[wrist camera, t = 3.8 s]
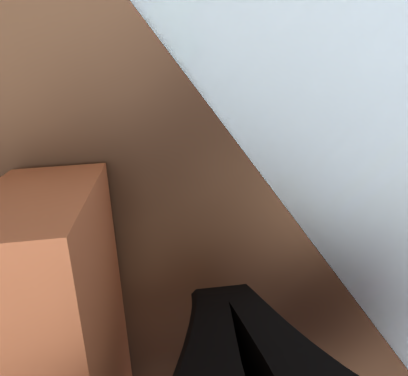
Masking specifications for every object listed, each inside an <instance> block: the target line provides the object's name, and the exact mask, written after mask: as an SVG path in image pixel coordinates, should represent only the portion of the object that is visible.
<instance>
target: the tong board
mask: <svg viewBox="0 0 408 376" xmlns="http://www.w3.org/2000/svg"><path fill="white" fill-rule="evenodd" d="M95 163H106V169H107V177H108V185H109V193H110V201H111V209H112V217H113V225H114V233H115V241H116V249H117V257H118V265H119V273H120V281H121V289H122V297H123V305H124V313H125V321H126V329H127V337H128V345H129V353H130V361H131V369H132V376H173V373H174V370H175V368H176V365H177V362H178V359H179V357H180V354H181V351H182V348H183V344H184V341H185V337H186V333H187V329H188V326H189V321H190V316H191V309H192V297H191V294H192V293H193V292H194V291H195V290H196V289H203V288H212V287H222V286H231V285H241V284H247V285H248V286H249V287H250V288H251V289H252V290H254V291H255V292H256V293H257V294H258V295H259V296H260V297H261V298H262V299H263V300H264V301H265V302H266V303H267V304H269V305H270V306H271V307H272V308H273V309H274V310H275V311H276V312H277V313H278V314H279V315H281V316H282V317H283V318H284V319H285V320H286V321H287V322H289V323H290V324H291V325H292V326H293V327H295V328H296V329H297V330H298V331H299V332H300V333H302V334H303V335H304V336H305V337H306V338H308V339H309V340H310V341H311V342H313V343H314V344H315V345H317V346H318V347H319V348H321V349H322V350H323V351H325V352H326V353H327V354H329V355H330V356H331V357H333V358H334V359H336V360H337V361H338V362H340V363H341V364H343V365H344V366H346V367H347V368H348V369H350V370H351V371H353V372H354V373H356V374H358V375H359V376H408V370H407V368H406V367H405V366H404V364H403V363H402V362H401V360H400V359H399V358H398V356H397V355H396V354H395V352H394V351H393V350H392V348H391V347H390V346H389V344H388V343H387V342H386V340H385V339H384V338H383V336H382V335H381V334H380V332H379V331H378V330H377V328H376V327H375V326H374V324H373V323H372V322H371V320H370V319H369V318H368V316H367V315H366V314H365V312H364V311H363V310H362V308H361V307H360V306H359V304H358V303H357V302H356V300H355V299H354V298H353V296H352V295H351V294H350V292H349V291H348V290H347V288H346V287H345V286H344V284H343V283H342V282H341V280H340V279H339V278H338V276H337V275H336V274H335V272H334V271H333V270H332V269H331V267H330V266H329V265H328V263H327V262H326V261H325V259H324V258H323V257H322V255H321V254H320V253H319V251H318V250H317V249H316V247H315V246H314V245H313V243H312V242H311V241H310V239H309V238H308V237H307V235H306V234H305V233H304V231H303V230H302V229H301V227H300V226H299V225H298V223H297V222H296V221H295V219H294V218H293V217H292V215H291V214H290V213H289V211H288V210H287V209H286V207H285V206H284V205H283V203H282V202H281V201H280V199H279V198H278V197H277V195H276V194H275V193H274V191H273V190H272V189H271V187H270V186H269V185H268V183H267V182H266V181H265V179H264V178H263V177H262V175H261V174H260V173H259V171H258V170H257V169H256V168H255V166H254V165H253V164H252V162H251V161H250V160H249V158H248V157H247V156H246V154H245V153H244V152H243V150H242V149H241V148H240V146H239V145H238V144H237V142H236V141H235V140H234V138H233V137H232V136H231V134H230V133H229V132H228V130H227V129H226V128H225V126H224V125H223V124H222V122H221V121H220V120H219V118H218V117H217V116H216V114H215V113H214V112H213V110H212V109H211V108H210V106H209V105H208V104H207V102H206V101H205V100H204V98H203V97H202V96H201V94H200V93H199V92H198V90H197V89H196V88H195V86H194V85H193V84H192V82H191V81H190V80H189V78H188V77H187V76H186V74H185V73H184V72H183V70H182V69H181V68H180V66H179V65H178V64H177V63H176V61H175V60H174V59H173V57H172V56H171V55H170V53H169V52H168V51H167V49H166V48H165V47H164V45H163V44H162V43H161V41H160V40H159V39H158V37H157V36H156V35H155V33H154V32H153V31H152V29H151V28H150V27H149V25H148V24H147V23H146V21H145V20H144V19H143V17H142V16H141V15H140V13H139V12H138V11H137V9H136V8H135V7H134V5H133V4H132V3H131V1H130V0H0V177H1V176H3V175H4V174H6V173H7V172H8V171H10V170H11V169H25V168H39V167H53V166H67V165H81V164H95Z"/></svg>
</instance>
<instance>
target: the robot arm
mask: <svg viewBox="0 0 408 376" xmlns="http://www.w3.org/2000/svg"><path fill="white" fill-rule="evenodd" d="M191 297H192V309H191V316H190V321H189V326H188V329H187V333H186V337H185V341H184V344H183V348H182V351H181V354H180V357H179V359H178V362H177V365H176V368H175V370H174V373H173V376H359V375H358V374H356V373H354V372H353V371H351V370H350V369H348V368H347V367H346V366H344V365H343V364H341V363H340V362H338V361H337V360H336V359H334V358H333V357H331V356H330V355H329V354H327V353H326V352H325V351H323V350H322V349H321V348H319V347H318V346H317V345H315V344H314V343H313V342H311V341H310V340H309V339H308V338H306V337H305V336H304V335H303V334H302V333H300V332H299V331H298V330H297V329H296V328H295V327H293V326H292V325H291V324H290V323H289V322H287V321H286V320H285V319H284V318H283V317H282V316H281V315H279V314H278V313H277V312H276V311H275V310H274V309H273V308H272V307H271V306H270V305H269V304H267V303H266V302H265V301H264V300H263V299H262V298H261V297H260V296H259V295H258V294H257V293H256V292H255V291H254V290H252V289H251V288H250V287H249V286H248V285H247V284H241V285H231V286H222V287H212V288H203V289H196V290H195V291H194V292H193V293H192V294H191Z"/></svg>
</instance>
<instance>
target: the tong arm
mask: <svg viewBox="0 0 408 376" xmlns="http://www.w3.org/2000/svg"><path fill="white" fill-rule="evenodd" d="M0 376H132V369H131V361H130V353H129V345H128V337H127V329H126V321H125V313H124V305H123V297H122V289H121V281H120V273H119V265H118V257H117V249H116V241H115V233H114V225H113V217H112V209H111V201H110V193H109V185H108V177H107V169H106V163H95V164H81V165H67V166H53V167H39V168H25V169H11V170H10V171H8V172H7V173H6V174H4V175H3V176H1V177H0Z"/></svg>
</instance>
